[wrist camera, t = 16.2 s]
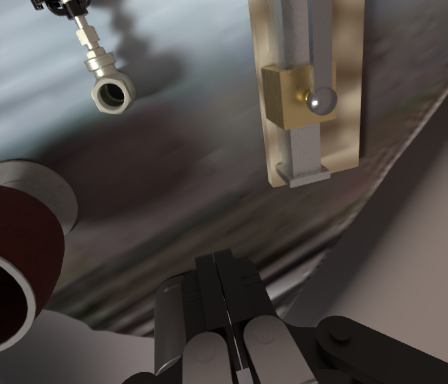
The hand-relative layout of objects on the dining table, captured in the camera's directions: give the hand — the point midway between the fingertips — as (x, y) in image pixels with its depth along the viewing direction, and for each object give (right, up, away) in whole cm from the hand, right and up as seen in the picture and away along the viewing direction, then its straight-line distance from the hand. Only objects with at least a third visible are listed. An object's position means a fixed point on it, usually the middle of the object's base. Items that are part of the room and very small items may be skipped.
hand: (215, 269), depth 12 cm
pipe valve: (+8, +16, +25) cm, 30 cm away
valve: (-13, +19, +21) cm, 31 cm away
